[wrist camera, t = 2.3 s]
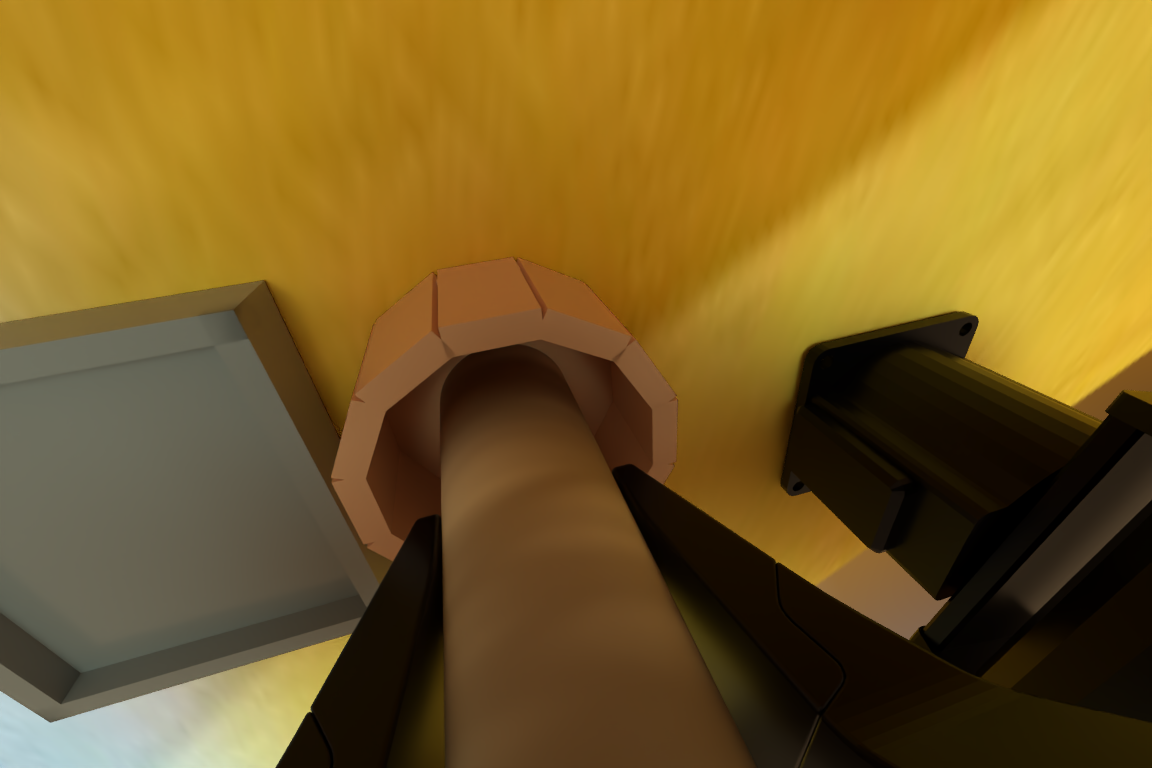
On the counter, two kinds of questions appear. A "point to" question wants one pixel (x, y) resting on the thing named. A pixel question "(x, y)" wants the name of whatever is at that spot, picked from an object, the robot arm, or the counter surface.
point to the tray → (165, 500)
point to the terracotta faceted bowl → (473, 324)
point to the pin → (557, 593)
